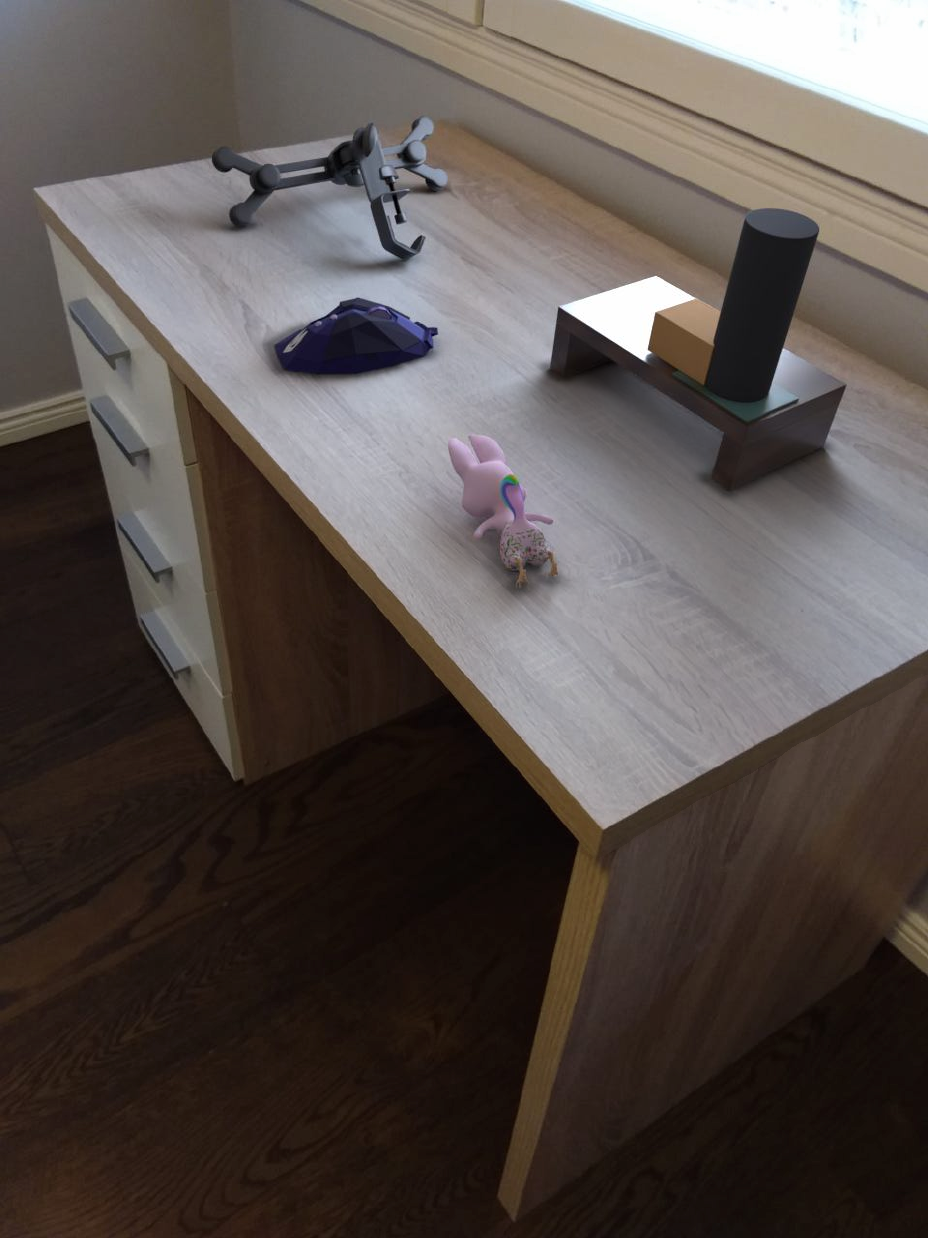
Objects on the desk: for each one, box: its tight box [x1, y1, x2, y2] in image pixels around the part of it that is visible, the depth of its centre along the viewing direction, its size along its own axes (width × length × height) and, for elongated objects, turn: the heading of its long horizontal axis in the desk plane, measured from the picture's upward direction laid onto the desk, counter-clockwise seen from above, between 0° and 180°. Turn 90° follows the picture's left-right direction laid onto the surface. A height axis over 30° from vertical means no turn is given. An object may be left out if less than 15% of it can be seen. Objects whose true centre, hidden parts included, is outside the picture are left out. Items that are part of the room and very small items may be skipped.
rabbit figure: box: [447, 434, 560, 588], centre depth 74 cm, size 6×6×15 cm
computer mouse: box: [274, 297, 439, 375], centre depth 92 cm, size 9×15×4 cm, turn 108°
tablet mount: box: [211, 115, 449, 261], centre depth 109 cm, size 27×14×17 cm
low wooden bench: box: [549, 275, 848, 492], centre depth 87 cm, size 22×12×6 cm, turn 37°
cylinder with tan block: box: [647, 207, 820, 402], centre depth 78 cm, size 10×5×13 cm, turn 37°
